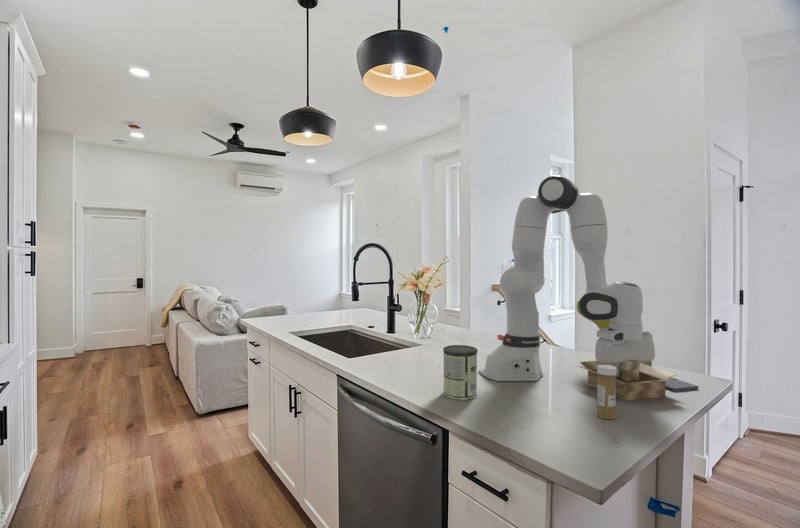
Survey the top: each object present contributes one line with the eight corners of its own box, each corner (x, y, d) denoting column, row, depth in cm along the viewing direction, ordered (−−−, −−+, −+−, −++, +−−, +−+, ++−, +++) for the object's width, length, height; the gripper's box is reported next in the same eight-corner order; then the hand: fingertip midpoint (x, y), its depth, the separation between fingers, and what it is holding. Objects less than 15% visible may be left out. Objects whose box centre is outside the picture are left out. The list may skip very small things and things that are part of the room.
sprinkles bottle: (617, 421, 102) (618, 369, 102) (598, 418, 103) (598, 367, 103) (613, 414, 106) (614, 364, 106) (595, 412, 108) (595, 363, 107)
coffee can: (446, 387, 127) (447, 343, 127) (479, 391, 124) (479, 346, 124) (439, 397, 118) (439, 350, 117) (474, 402, 114) (474, 353, 114)
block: (626, 393, 122) (627, 361, 122) (611, 387, 128) (612, 357, 128) (638, 392, 124) (639, 360, 123) (623, 386, 129) (623, 356, 129)
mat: (673, 391, 125) (673, 388, 125) (646, 381, 134) (646, 379, 134) (698, 389, 127) (698, 386, 127) (669, 379, 137) (669, 376, 137)
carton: (624, 406, 112) (625, 383, 112) (570, 381, 134) (570, 362, 134) (687, 399, 118) (687, 377, 118) (625, 376, 140) (625, 358, 140)
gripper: (643, 329, 131) (642, 370, 131) (592, 331, 126) (591, 375, 126) (660, 333, 125) (659, 376, 125) (607, 335, 120) (606, 381, 120)
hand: (625, 375), depth 126 cm, fingers closed on block, 4 cm apart
